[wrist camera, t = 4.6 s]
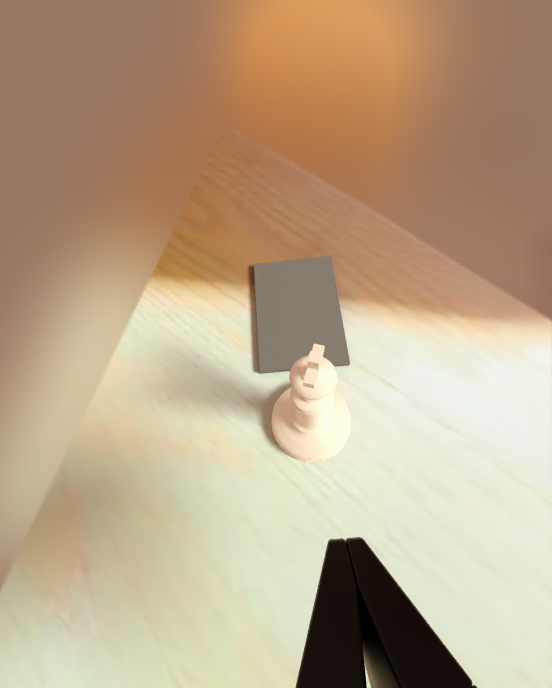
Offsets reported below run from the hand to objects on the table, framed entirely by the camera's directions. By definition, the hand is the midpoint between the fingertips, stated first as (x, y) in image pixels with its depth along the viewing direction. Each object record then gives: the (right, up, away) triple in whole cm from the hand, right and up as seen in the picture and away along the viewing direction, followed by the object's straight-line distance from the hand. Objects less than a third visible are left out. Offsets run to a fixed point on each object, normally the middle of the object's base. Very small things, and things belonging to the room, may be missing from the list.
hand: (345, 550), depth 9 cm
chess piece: (0, 0, +13) cm, 13 cm away
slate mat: (0, +7, +17) cm, 18 cm away
